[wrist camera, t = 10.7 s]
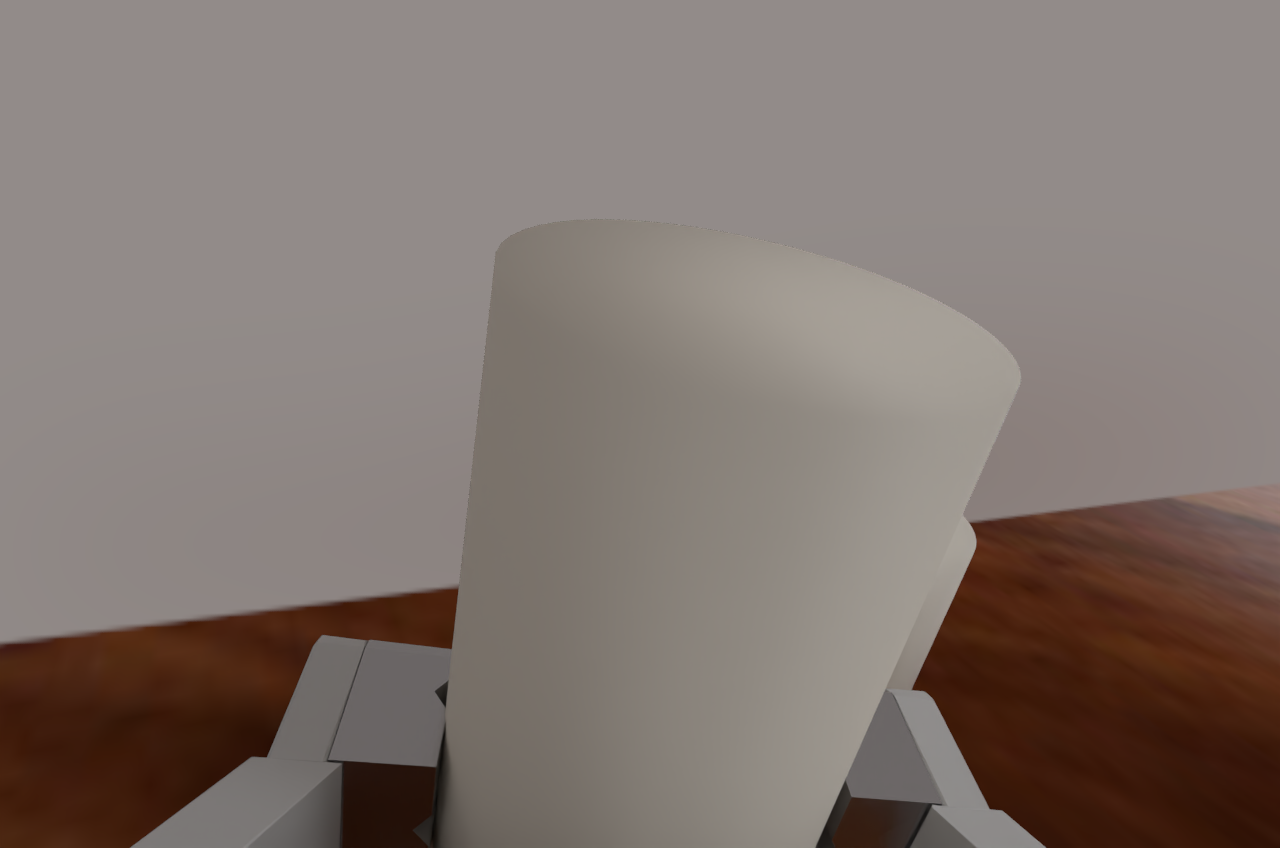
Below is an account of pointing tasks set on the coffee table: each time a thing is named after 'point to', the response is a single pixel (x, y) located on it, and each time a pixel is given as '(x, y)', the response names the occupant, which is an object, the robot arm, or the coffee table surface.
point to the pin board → (934, 607)
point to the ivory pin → (696, 533)
